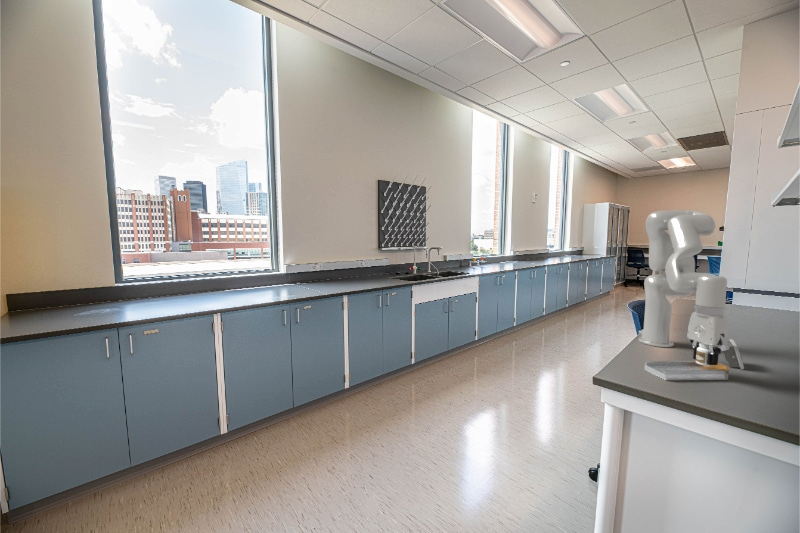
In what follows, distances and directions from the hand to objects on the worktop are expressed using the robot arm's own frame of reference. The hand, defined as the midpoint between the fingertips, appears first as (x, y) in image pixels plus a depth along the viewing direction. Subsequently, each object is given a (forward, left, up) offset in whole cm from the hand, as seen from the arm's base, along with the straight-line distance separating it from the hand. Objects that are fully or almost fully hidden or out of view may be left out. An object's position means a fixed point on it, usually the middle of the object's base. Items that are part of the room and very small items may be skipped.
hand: (705, 361), depth 114 cm
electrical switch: (-8, +19, -5) cm, 21 cm away
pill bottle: (0, 0, -1) cm, 1 cm away
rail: (0, -7, -5) cm, 8 cm away
